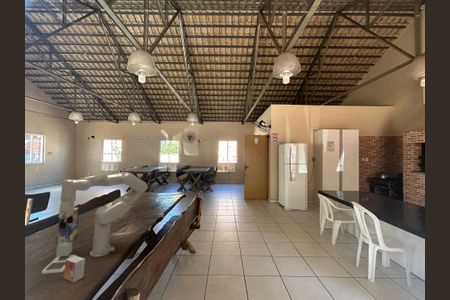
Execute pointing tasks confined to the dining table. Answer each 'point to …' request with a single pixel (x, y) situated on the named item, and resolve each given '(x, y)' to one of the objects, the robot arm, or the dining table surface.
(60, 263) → the post board
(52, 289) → the dining table surface
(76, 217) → the juice carton
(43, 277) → the dining table surface
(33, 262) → the dining table surface
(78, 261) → the small box
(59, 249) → the green slotted box
